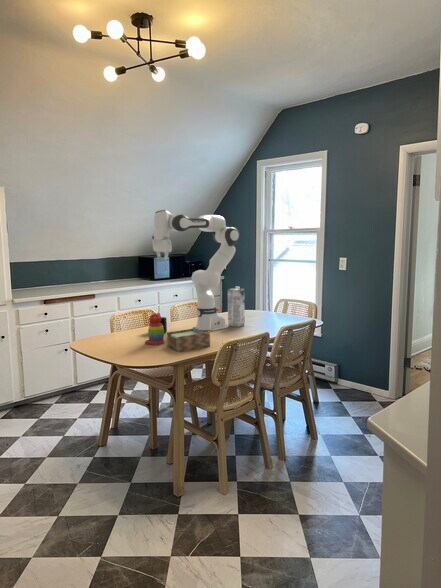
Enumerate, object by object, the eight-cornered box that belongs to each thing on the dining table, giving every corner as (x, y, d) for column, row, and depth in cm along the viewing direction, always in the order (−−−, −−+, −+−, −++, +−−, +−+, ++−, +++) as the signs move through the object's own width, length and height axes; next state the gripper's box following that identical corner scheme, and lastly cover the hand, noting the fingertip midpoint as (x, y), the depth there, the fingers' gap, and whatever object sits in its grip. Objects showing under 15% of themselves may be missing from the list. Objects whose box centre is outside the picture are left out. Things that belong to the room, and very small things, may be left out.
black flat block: (164, 333, 277) (164, 318, 276) (150, 333, 279) (149, 318, 278) (166, 332, 282) (166, 317, 280) (152, 331, 284) (151, 316, 282)
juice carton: (238, 327, 292) (238, 288, 288) (226, 325, 298) (225, 287, 294) (246, 325, 299) (246, 286, 295) (233, 323, 305) (233, 285, 301)
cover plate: (196, 332, 254) (196, 326, 254) (206, 335, 245) (206, 329, 245) (170, 336, 245) (170, 330, 245) (179, 340, 236) (179, 333, 236)
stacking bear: (157, 339, 262) (156, 311, 260) (168, 342, 256) (167, 312, 253) (143, 343, 254) (142, 313, 251) (155, 346, 248) (153, 315, 245)
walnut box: (197, 341, 257) (197, 327, 256) (210, 346, 246) (209, 332, 245) (167, 346, 247) (166, 332, 246) (178, 352, 235) (178, 337, 234)
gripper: (174, 236, 259) (174, 259, 261) (159, 236, 276) (160, 258, 278) (164, 236, 256) (165, 260, 258) (150, 236, 273) (151, 258, 275)
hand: (162, 259), depth 268 cm, fingers open, 8 cm apart
